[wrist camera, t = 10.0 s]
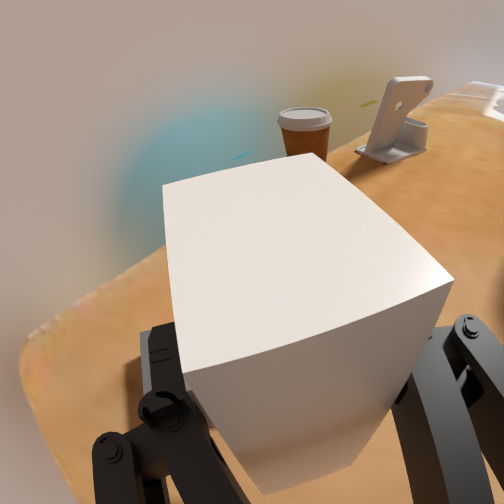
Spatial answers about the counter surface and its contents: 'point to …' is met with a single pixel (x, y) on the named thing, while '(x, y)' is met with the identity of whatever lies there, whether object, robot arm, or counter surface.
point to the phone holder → (398, 122)
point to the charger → (295, 312)
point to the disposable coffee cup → (305, 131)
